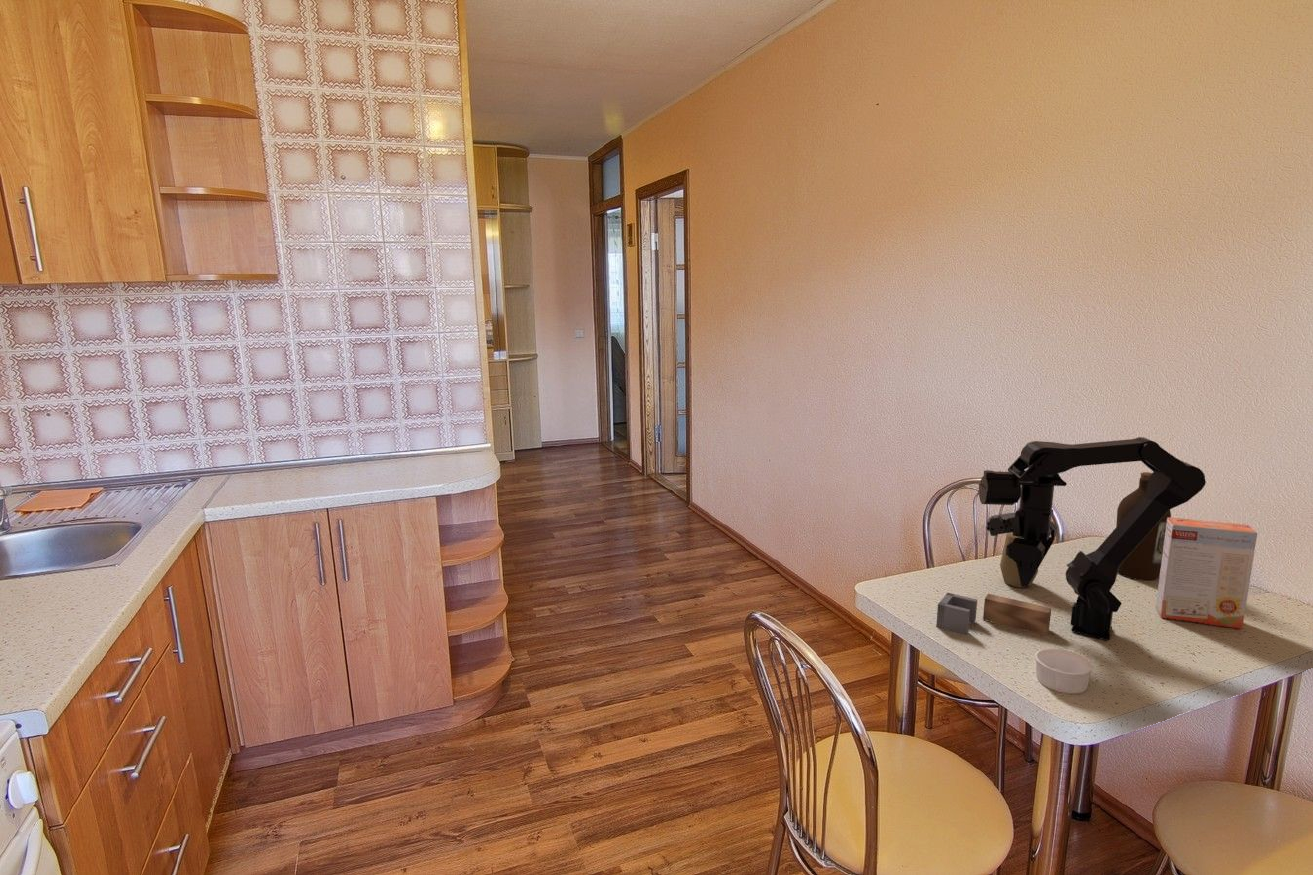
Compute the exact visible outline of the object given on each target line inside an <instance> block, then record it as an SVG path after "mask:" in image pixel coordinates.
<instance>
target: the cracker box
mask: <svg viewBox="0 0 1313 875" xmlns="http://www.w3.org/2000/svg"><path fill="white" fill-rule="evenodd" d="M1257 536H1258V532H1257V531H1256V530H1255V529H1253V528H1252V526H1250V525H1249V524H1244V523H1243V524H1242V523H1231V522H1223V521H1221V522H1220V521H1213V520H1211V521H1209V520H1202V519H1201V520H1198V519H1189V518H1181V517H1180V518H1179V517H1171V518H1169V517H1168V518H1167V524H1166V532H1165V539H1164V547H1163V555H1162V563H1161V569H1160V575H1159V578H1158V579H1159V580H1158V587H1157V594H1156V604H1155V609H1156V610H1157V612H1158V614H1159V616H1160V618H1162V619H1167V618H1169V619H1168V620H1175V619H1176V621H1182V620H1185V621H1184V622H1189V621H1191V622H1190V623H1196V622H1198V623H1197V624H1203V623H1204V624H1205V625H1211V626H1217V627H1218V626H1219V627H1223V628H1224V627H1226V628H1231V629H1240V630H1242V629H1243V626H1244V620H1245V613H1246V607H1247V601H1248V595H1249V594H1248V593H1249V588H1250V581H1251V577H1252V570H1253V562H1254V557H1255V556H1254V555H1255V550H1256V543H1257V539H1258V538H1257Z"/></svg>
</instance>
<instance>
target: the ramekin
mask: <svg viewBox="0 0 1313 875" xmlns="http://www.w3.org/2000/svg"><path fill="white" fill-rule="evenodd" d="M1034 658H1035V674H1036V678H1037V680H1038V682H1039V683H1040V684H1042V685H1043V686H1044V687H1045V688H1048V689H1049V690H1053V691H1055V692H1059V693H1061V694H1062V693H1063V694H1068V695H1070V694H1071V695H1075V694H1077V695H1078V694H1081V693H1083V692H1085V691H1086V690H1087V689H1088V686H1089V682H1090V677H1091V674H1092V672H1093V669H1094V666H1093V664H1092V662H1091V661H1090V660H1088V658H1086V656H1085V657H1084V656H1083V655H1081V654H1079V653H1076V652H1073V651H1070V650H1066V649H1063V648H1061V649H1060V648H1056V647H1055V648H1051V647H1050V648H1044V649H1043V648H1042V649H1039V650H1038V651H1036V652H1035V655H1034Z"/></svg>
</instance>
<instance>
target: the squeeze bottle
mask: <svg viewBox="0 0 1313 875" xmlns="http://www.w3.org/2000/svg"><path fill="white" fill-rule="evenodd" d="M1005 534H1006V535H1005V540H1004V544H1003V549H1002V554H1001V557H1000V562H999V568H1000V572H1001V574H1002V579H1003V582H1004V583H1005V584H1007V585H1008V586H1013V587H1016V588H1024V587H1023V586H1021V583H1020V578H1019V573H1018V568H1017V564H1016V562H1015V561H1014V560H1013V559H1011V558H1009V557H1008V556H1007V555H1006V546H1007V545H1008V543H1009V542H1010V541H1011V540H1012V539H1014V538H1021V536H1019V537H1018V536H1013V532H1011V533H1005ZM1038 572H1039V568H1038V569H1037V571H1036V573H1035V574H1034V576H1033V578H1032V579H1031V581H1030V583H1029V585H1028V586H1027V587H1026V588H1028V587H1031V586H1032V584H1033V582H1034V581H1035V578H1036V576H1037V575H1038Z"/></svg>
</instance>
